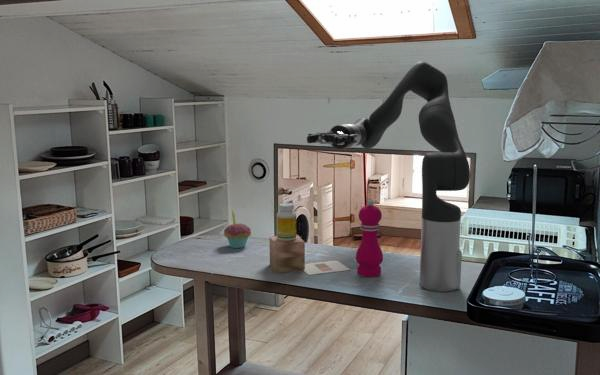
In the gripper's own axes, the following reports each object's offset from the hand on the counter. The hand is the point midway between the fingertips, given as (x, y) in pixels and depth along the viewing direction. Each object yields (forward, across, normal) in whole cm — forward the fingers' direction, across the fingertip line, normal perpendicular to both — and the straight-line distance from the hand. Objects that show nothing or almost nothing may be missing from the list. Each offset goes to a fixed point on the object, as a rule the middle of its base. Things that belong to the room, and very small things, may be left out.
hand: (321, 140), depth 162 cm
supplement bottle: (+16, -2, +26) cm, 31 cm away
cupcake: (+6, -27, +34) cm, 44 cm away
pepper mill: (+11, +20, +34) cm, 41 cm away
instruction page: (+12, +7, +34) cm, 37 cm away
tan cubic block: (+17, -2, +34) cm, 38 cm away
